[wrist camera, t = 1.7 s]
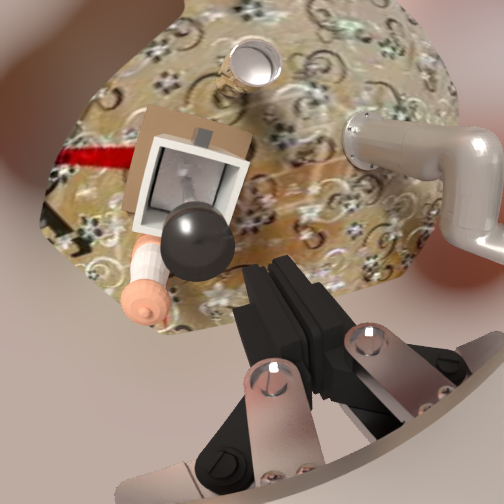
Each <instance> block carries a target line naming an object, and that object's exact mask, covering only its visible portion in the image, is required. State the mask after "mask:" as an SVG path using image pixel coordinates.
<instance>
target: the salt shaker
mask: <svg viewBox="0 0 504 504" xmlns="http://www.w3.org/2000/svg"><path fill="white" fill-rule="evenodd" d="M160 244H161V237H158V236H153V235H149V234H146V235H143V236H141V237H140V238H139V239H138V240H137V242H136V243H135V246H134V249H133V252H132V262H131V267H130V270H131V281H130V284H129V285H127V286H126V287H125V289H124V290H123V292H122V294H121V305H122V309H123V311H124V313H125V314H126V315H127V316H128V318H130V319H131V320H132V321H133V322H136V323H137V324H141V325H154V324H157V323H159V322H161V321H162V320H163V319H165V318H166V316H167V315H168V313H169V311H170V307H171V298H170V296H169V294H168V292H167V290H166V282H167V279H168V276H169V272H170V271H169V270H168V269H167V267H166V266H165V264H164V262H163V260H162V257H161V252H160Z"/></svg>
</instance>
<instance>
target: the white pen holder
mask: <svg viewBox="0 0 504 504" xmlns="http://www.w3.org/2000/svg"><path fill="white" fill-rule="evenodd" d="M253 135H254V134H253V133H250V132H247V131H244V130H241V129H238V128H235V127H231V126H228V125H225V124H222V123H218V122H215V121H211V120H208V119H204V118H201V117H197V116H194V115H190V114H186V113H182V112H178V111H174V110H170V109H166V108H161V107H157V106H152V105H148V107H147V110H146V113H145V116H144V119H143V122H142V126H141V129H140V132H139V136H138V139H137V143H136V147H135V150H134V154H133V158H132V162H131V166H130V170H129V175H128V179H127V184H126V188H125V193H124V198H123V203H122V208H121V210H123V211H128V212H132V213H135V217H134V223H133V228H132V231H135V232H139V233H144V234H149V235H153V236H158V237H161V235H162V228H163V224H164V221H165V219H166V217H167V216H168V214H169V213H170V212H171V211H169V210H164V209H160V208H155V207H151V206H150V205H151V200H152V196H153V192H154V188H155V184H156V180H157V176H158V172H159V169H160V165H161V161H162V158H163V154H164V151H165V147H166V148H170V149H174V150H178V151H182V152H186V153H190V154H194V155H198V156H202V157H205V158H209V159H213V160H216V161H220V162H223V163H225V166H224V169H223V172H222V175H221V178H220V182H219V185H218V188H217V191H216V194H215V197H214V201H213V204H212V206H214V207H216V208H217V209H218V210H219V211H220V212H221V213H222V215H223V216H224V218H225V220H226V222H227V224H228V226H229V224H230V221H231V218H232V215H233V212H234V209H235V206H236V203H237V200H238V197H239V194H240V191H241V188H242V185H243V182H244V179H245V176H246V173H247V170H248V167H249V164H250V162H248V161H246V160H245V157H246V155H247V152H248V149H249V146H250V143H251V140H252V137H253Z"/></svg>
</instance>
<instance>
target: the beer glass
mask: <svg viewBox="0 0 504 504" xmlns="http://www.w3.org/2000/svg"><path fill="white" fill-rule="evenodd" d="M282 68H283V61H282V57H281V55H280V53H279V51H278V50H277V49H276V48H275V47H274V46H273V45H272V44H270V43H269V42H266V41H264V40H260V39H249V40H245V41H243V42H241V43H239V44H238V45H237V46H235V48H233V49H232V50H231V51H230V52H229V53H228V54H227V56H226V57H225V59H224V60H223V63H222V66H221V69H220V70H219V72H218V73H217V75H216V79H215V83H216V87H217V89H218V90H219V91H220V92H221V93H222V94H223V95H225V96H228V97H239V96H242V95H243V94H245V93H253V92H257V91H259V90H262V89H264V88H265V87H267V86H268V85H270V84H272V83H273V82H275V81H276V80H277V79H278V77H279V76H280V74H281V72H282Z"/></svg>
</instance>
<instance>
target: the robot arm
mask: <svg viewBox="0 0 504 504" xmlns="http://www.w3.org/2000/svg"><path fill="white" fill-rule="evenodd" d="M342 145H343V149H344V153H345V155H346V157H347V158H348V160H349V161H350V162H351V163H352V164H353V165H354V166H356V167H357V168H360V169H363V170H374V169H377V168H379V167H382V168H385V169H388V170H391V171H394V172H397V173H400V174H403V175H406V176H409V177H412V178H415V179H418V180H421V181H434V180H437V179H439V178H441V177H443V194H442V205H441V214H440V231H441V234H442V236H443V237H444V238H445V239H446V240H447V241H448V242H449V243H451V244H452V245H454V246H456V247H458V248H461V249H463V250H466V251H468V252H471V253H474V254H477V255H479V256H482V257H485V258H487V259H490V260H492V261H495V262H497V263H500V264H503V265H504V223H501V224H500V223H497V221H498V216H499V210H500V202H501V199H502V190H503V182H504V152H503V148H502V145H501V142H500V141H499V139H498V138H497V136H496V135H495V134H494V133H492V132H491V131H489V130H487V129H484V128H481V127H474V126H441V125H432V124H424V123H416V122H408V121H398V120H388V119H383V118H382V117H381V116H380V115H379V114H377V113H375V112H372V111H360V112H357V113H355V114H353V115H352V116H351V117H350V118H349V119H348V121H347V122H346V124H345V126H344V129H343V134H342ZM268 270H269V273H268V272H267V270H266V268H265V267H264V266H262V267H259V266H258V264H254V265H251V266H247V267H244V268H242V272H243V276H244V280H245V285H246V289H247V293H248V297H249V301H250V304H248V305H245V306H241V307H238V308H234V309H232V310H233V314H234V317H235V321H236V324H237V327H238V331H239V334H240V337H241V340H242V343H243V346H244V349H245V352H246V355H247V358H248V361H249V364H250V367H251V368H250V369H249V370H248V371H247V373H246V375H245V377H244V392H245V395H244V397H243V398H242V399H241V401H240V402H239V403H238V405H237V406H236V407H235V409H234V410H233V412H232V413H231V414H230V416H229V417H228V418H227V420H226V421H225V422H224V424H223V425H222V426H221V428H220V429H219V430H218V431H217V433H216V434H215V435H214V437H213V438H212V439H211V441H210V442H209V443H208V444H207V446H206V447H205V448H204V449H203V451H202V452H201V453H200V454H199V456H198V458H197V459H196V460H193V461H191V462H188V463H185V462H180V463H178V464H175V465H173V466H170V467H166V468H164V469H161V470H158V471H154V472H151V473H148V474H145V475H142V476H138V477H135V478H131V479H128V480H126V481H123V482H121V483H120V485H119V486H118V487H117V488H116V491H115V494H114V495H115V502H116V504H504V333H503V332H500V331H494V332H490V333H488V334H486V335H484V336H482V337H480V338H478V339H475V340H473V341H471V342H468V343H466V344H464V345H461V346H459V347H457V348H456V350H455V351H452V350H448V349H439V348H432V347H424V346H418V345H411V344H406V343H404V342H403V341H402V340H401V339H400V338H398V337H397V336H396V335H395V334H394V333H392V332H391V331H390V330H389V329H387V328H386V327H384V326H382V325H380V324H376V323H362V324H359V325H356V324H355V323H354V322H353V321H352V319H351V318H350V317H349V316H348V315H347V313H346V312H345V311H344V310H343V309H342V307H341V306H340V305H339V304H338V303H337V301H336V300H335V299H334V298H333V297H332V296H331V294H330V293H329V292H328V291H327V290H326V288H325V287H324V286H323V285H322V284H321V283H319V282H317V283H314V284H311V283H310V281H309V280H308V279H307V278H306V276H305V275H304V274H303V273H302V272H301V270H300V269H299V268H298V267H297V265H296V264H295V263H294V262H293V260H292V259H291V258H290V257H289V256H288V255H285V256H282V257H278V258H275V259H273V260H272V264H269V265H268ZM312 391H313V393H314V394H317V393H320V395H321V397H322V399H323V400H325V399H327V398H330V399H331V401H334V402H338V403H339V404H340V406H341V408H342V409H343V411H344V412H345V413H346V414H347V416H348V417H349V418H350V419H351V420H352V422H353V423H354V424H355V425H356V426H357V427H358V429H359V430H360V431H361V432H362V433H363V435H364V436H365V437H366V438H367V439H368V440H369V442H370V443H371V444H370V445H368V446H366V447H364V448H362V449H360V450H358V451H356V452H354V453H351V454H349V455H347V456H345V457H343V458H340V459H338V460H336V461H334V462H331V463H329V464H326V465H325V461H324V457H323V454H322V451H321V446H320V443H319V439H318V436H317V432H316V428H315V425H314V422H313V418H312V414H311V410H312Z"/></svg>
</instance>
